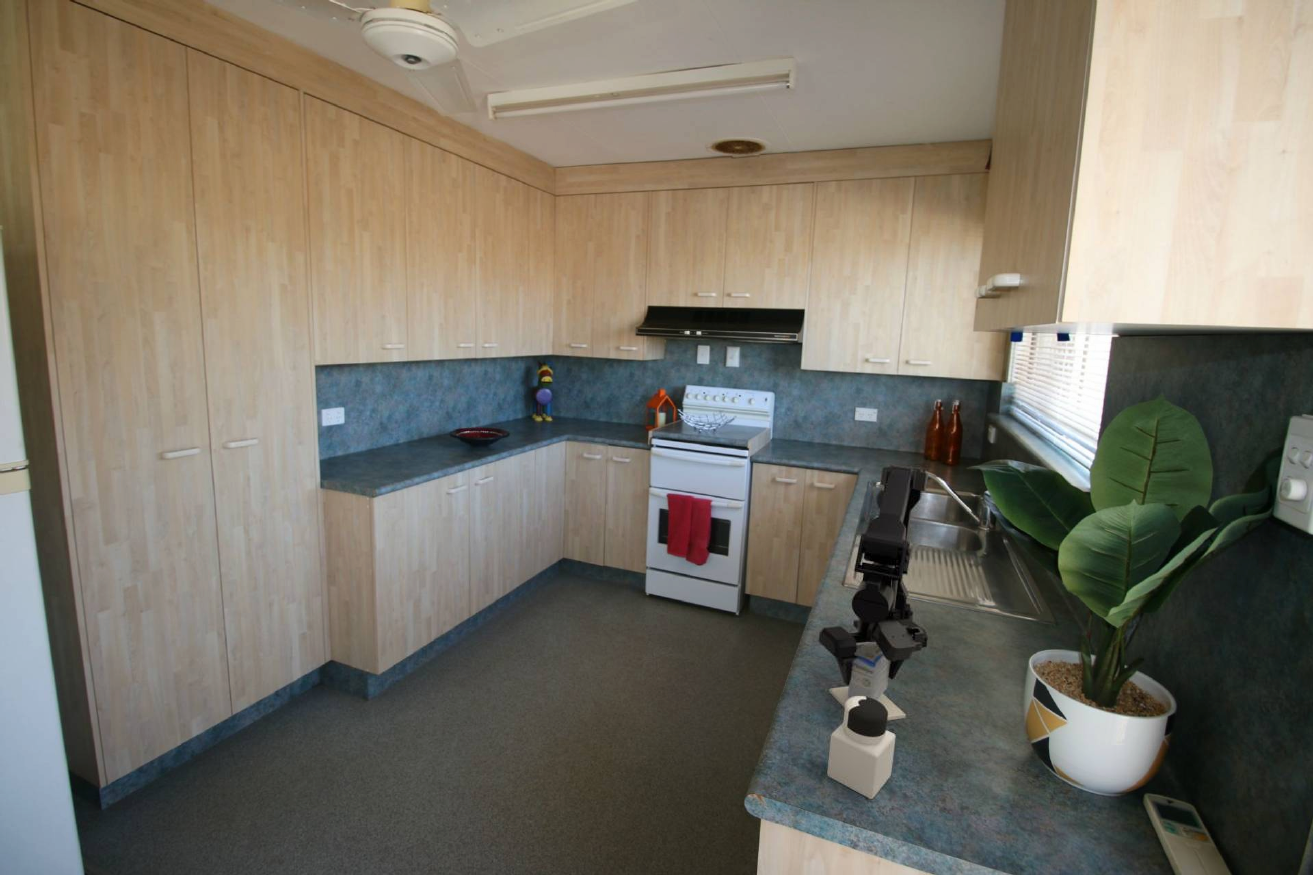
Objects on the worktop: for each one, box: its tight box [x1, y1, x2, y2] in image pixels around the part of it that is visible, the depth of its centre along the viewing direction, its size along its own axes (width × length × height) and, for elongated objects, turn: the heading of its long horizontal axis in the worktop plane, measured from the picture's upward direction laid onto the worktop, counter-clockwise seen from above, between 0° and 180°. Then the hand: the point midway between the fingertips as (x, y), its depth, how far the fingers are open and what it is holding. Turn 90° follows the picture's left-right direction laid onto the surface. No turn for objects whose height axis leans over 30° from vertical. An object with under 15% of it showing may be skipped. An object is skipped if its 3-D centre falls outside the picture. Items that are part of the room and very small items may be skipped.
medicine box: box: [848, 643, 891, 700], centre depth 113 cm, size 8×4×9 cm, turn 141°
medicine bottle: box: [826, 696, 896, 800], centre depth 94 cm, size 7×7×12 cm
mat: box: [829, 685, 907, 722], centre depth 114 cm, size 9×10×1 cm
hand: (868, 681), depth 113 cm, fingers closed on medicine box, 9 cm apart
